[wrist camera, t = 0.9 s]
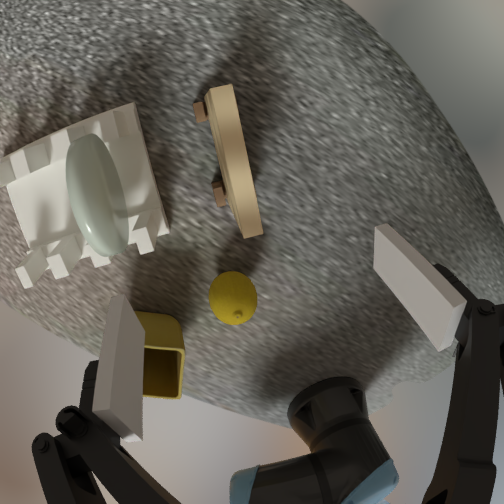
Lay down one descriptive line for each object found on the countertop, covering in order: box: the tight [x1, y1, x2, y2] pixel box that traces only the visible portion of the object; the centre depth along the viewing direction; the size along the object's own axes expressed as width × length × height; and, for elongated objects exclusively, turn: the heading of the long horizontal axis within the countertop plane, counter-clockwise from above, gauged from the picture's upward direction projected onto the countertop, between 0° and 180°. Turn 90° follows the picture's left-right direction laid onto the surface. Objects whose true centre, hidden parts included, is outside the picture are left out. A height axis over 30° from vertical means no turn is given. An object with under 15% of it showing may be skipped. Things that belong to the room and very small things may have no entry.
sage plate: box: [66, 133, 129, 257], centre depth 26 cm, size 11×1×11 cm, turn 12°
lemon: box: [209, 271, 257, 325], centre depth 37 cm, size 6×6×8 cm
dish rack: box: [0, 102, 170, 289], centre depth 29 cm, size 15×18×7 cm
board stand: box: [193, 94, 257, 207], centre depth 32 cm, size 11×4×3 cm, turn 12°
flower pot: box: [134, 311, 185, 399], centre depth 37 cm, size 9×9×9 cm
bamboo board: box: [204, 84, 263, 239], centre depth 28 cm, size 12×2×11 cm, turn 12°
